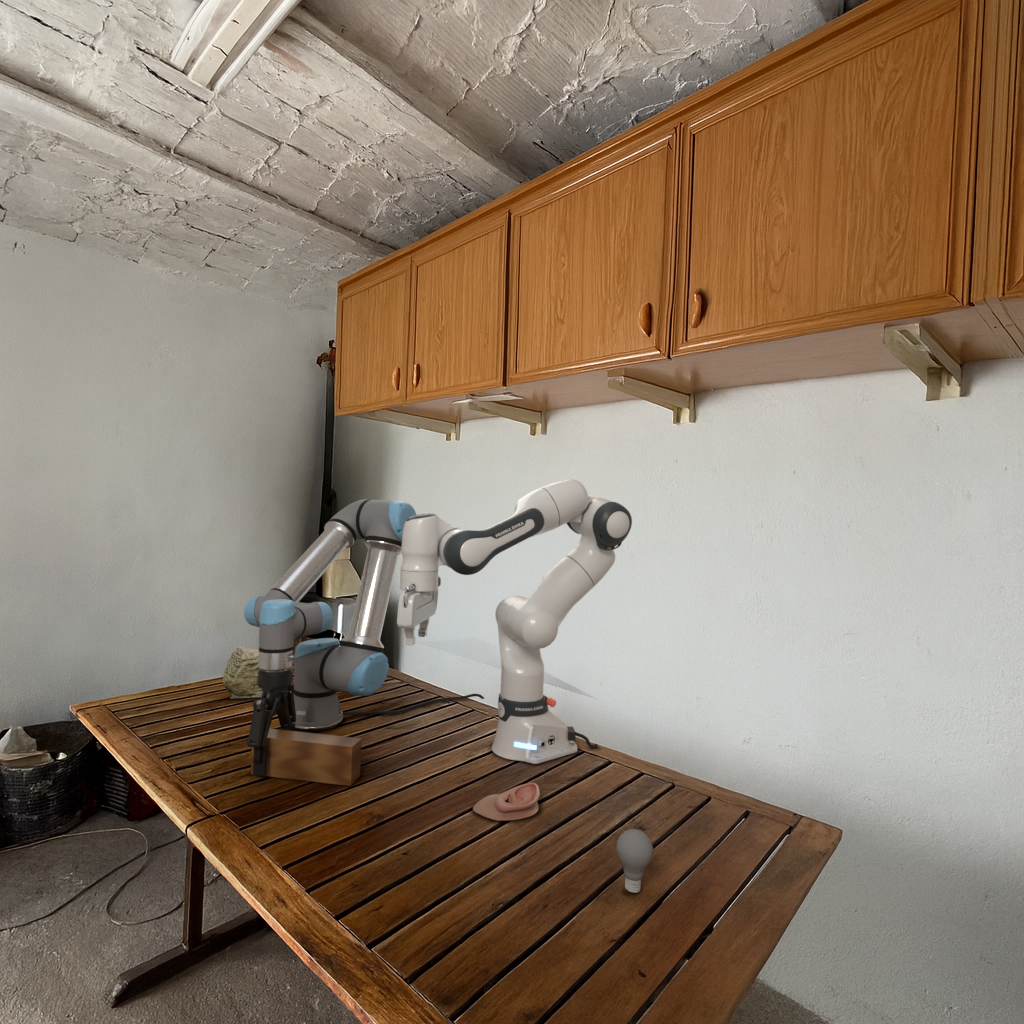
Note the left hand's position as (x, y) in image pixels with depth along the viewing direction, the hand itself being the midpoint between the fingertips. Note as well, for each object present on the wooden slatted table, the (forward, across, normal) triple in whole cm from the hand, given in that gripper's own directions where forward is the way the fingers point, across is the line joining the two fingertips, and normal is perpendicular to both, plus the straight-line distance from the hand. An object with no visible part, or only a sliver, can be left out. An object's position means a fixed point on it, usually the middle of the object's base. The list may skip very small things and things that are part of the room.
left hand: (271, 765), depth 145 cm
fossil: (+1, +49, +33) cm, 59 cm away
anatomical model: (+1, -5, -55) cm, 56 cm away
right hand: (-29, +10, -30) cm, 43 cm away
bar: (+1, 0, -8) cm, 8 cm away
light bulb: (+1, -28, -80) cm, 85 cm away
